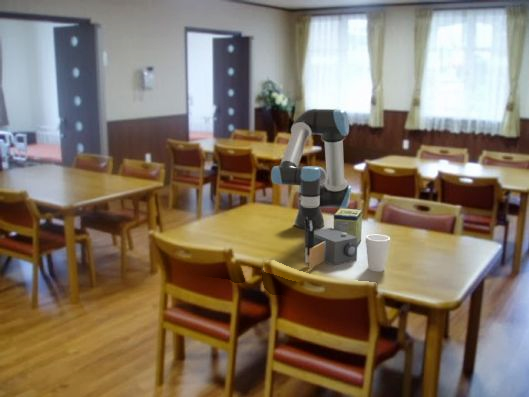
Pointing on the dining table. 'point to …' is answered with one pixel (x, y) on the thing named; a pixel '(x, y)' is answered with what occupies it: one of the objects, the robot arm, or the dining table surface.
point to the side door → (317, 254)
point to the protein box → (349, 222)
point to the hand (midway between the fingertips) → (308, 261)
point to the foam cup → (377, 251)
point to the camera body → (337, 245)
